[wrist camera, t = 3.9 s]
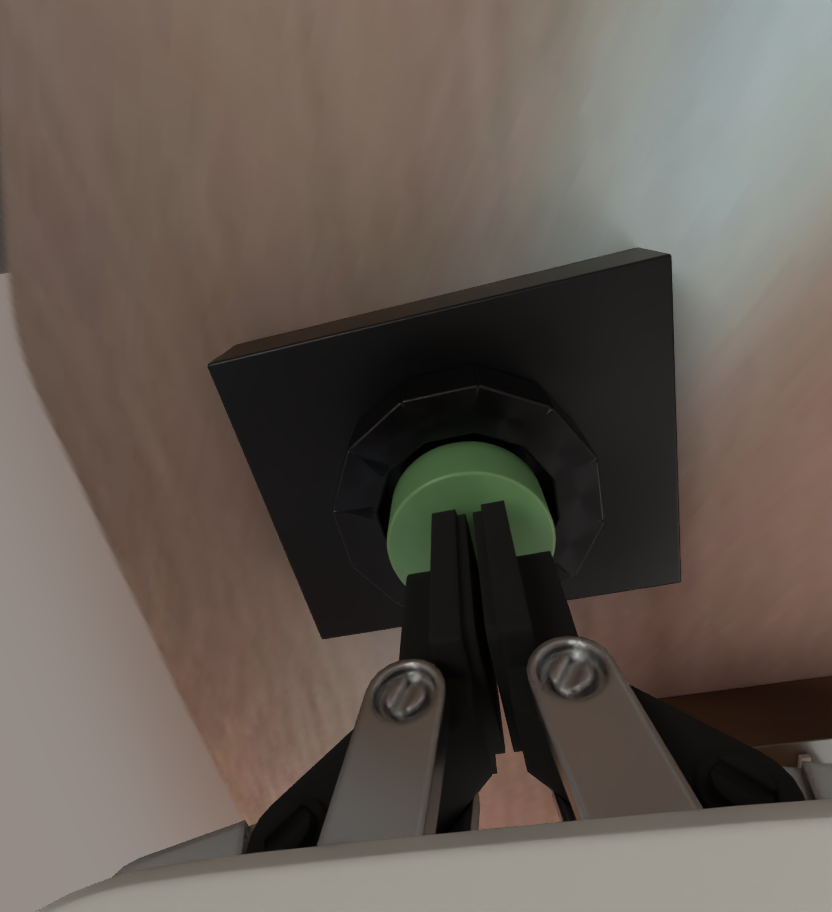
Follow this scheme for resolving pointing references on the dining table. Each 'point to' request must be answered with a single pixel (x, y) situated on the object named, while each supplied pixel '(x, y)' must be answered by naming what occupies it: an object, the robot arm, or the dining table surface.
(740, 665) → the dining table surface
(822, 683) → the dimmer panel
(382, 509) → the switch box
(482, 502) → the power button
